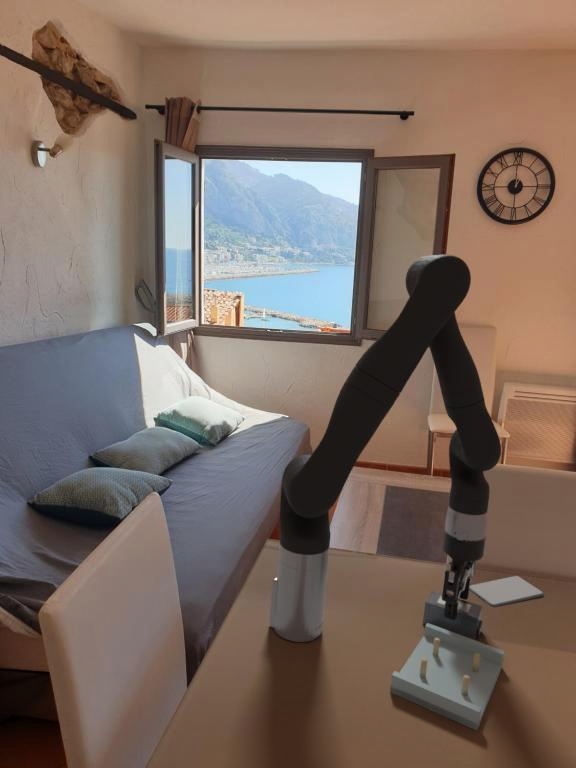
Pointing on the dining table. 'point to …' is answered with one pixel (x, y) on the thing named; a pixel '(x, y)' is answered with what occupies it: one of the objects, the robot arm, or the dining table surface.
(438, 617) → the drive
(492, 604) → the smartphone
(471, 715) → the tray
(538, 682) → the dining table surface
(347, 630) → the dining table surface
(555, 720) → the dining table surface
